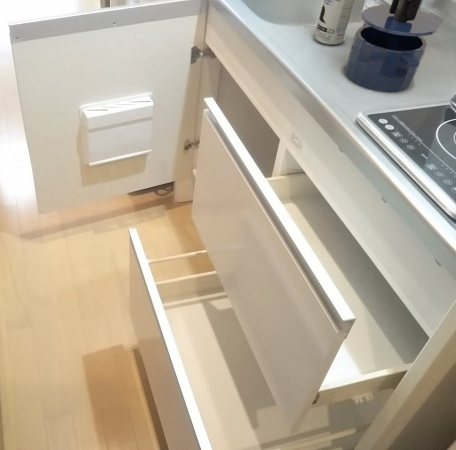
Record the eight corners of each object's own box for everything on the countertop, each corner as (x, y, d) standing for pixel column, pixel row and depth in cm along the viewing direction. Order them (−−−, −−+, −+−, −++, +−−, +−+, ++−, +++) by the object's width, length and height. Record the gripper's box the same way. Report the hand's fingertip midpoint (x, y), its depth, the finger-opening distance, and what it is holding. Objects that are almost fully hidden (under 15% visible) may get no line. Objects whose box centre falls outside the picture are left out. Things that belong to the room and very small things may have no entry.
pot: (385, 56, 118) (398, 18, 113) (430, 97, 105) (448, 57, 99) (329, 58, 116) (340, 20, 111) (368, 100, 103) (382, 59, 97)
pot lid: (413, 9, 109) (424, -25, 105) (453, 37, 99) (468, 1, 94) (348, 12, 107) (357, -22, 103) (382, 41, 97) (394, 4, 92)
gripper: (486, -80, 84) (441, 32, 96) (431, -101, 96) (398, 1, 108) (444, -80, 83) (404, 34, 95) (394, -101, 95) (364, 2, 107)
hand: (401, 15), depth 102 cm, fingers closed on pot lid, 2 cm apart
